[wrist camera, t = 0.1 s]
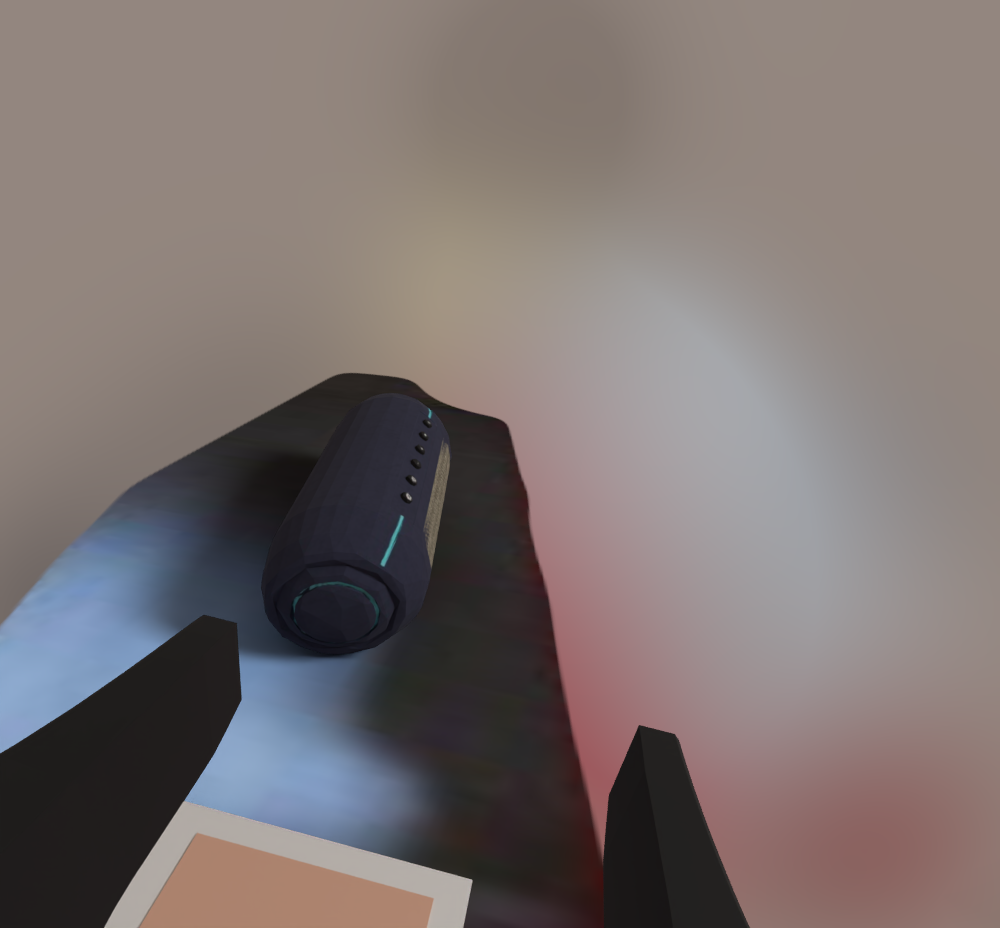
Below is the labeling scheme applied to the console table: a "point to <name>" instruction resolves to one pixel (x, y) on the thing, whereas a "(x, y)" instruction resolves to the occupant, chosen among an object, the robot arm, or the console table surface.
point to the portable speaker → (361, 530)
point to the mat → (279, 881)
